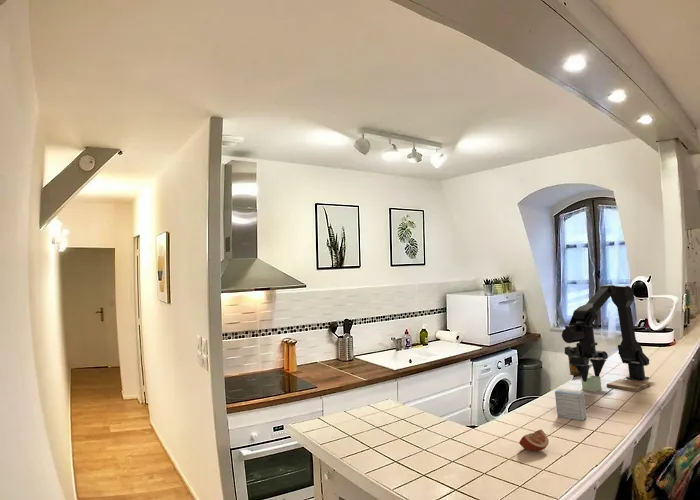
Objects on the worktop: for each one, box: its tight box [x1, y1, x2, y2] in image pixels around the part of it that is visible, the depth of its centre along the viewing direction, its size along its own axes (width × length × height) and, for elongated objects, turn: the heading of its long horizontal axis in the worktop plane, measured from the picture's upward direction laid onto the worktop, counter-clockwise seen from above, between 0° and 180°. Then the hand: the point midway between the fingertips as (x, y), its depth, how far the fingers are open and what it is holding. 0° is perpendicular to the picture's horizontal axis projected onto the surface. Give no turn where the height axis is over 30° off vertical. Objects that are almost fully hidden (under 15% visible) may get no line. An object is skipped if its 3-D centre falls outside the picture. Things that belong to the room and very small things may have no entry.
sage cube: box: [580, 374, 602, 392], centre depth 175 cm, size 5×5×5 cm
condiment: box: [567, 346, 593, 377], centre depth 201 cm, size 7×8×12 cm
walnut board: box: [606, 378, 650, 392], centre depth 175 cm, size 11×11×1 cm
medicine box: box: [554, 388, 587, 422], centre depth 144 cm, size 8×4×9 cm, turn 47°
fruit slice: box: [518, 428, 550, 453], centre depth 120 cm, size 8×7×5 cm
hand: (591, 379), depth 175 cm, fingers open, 9 cm apart
